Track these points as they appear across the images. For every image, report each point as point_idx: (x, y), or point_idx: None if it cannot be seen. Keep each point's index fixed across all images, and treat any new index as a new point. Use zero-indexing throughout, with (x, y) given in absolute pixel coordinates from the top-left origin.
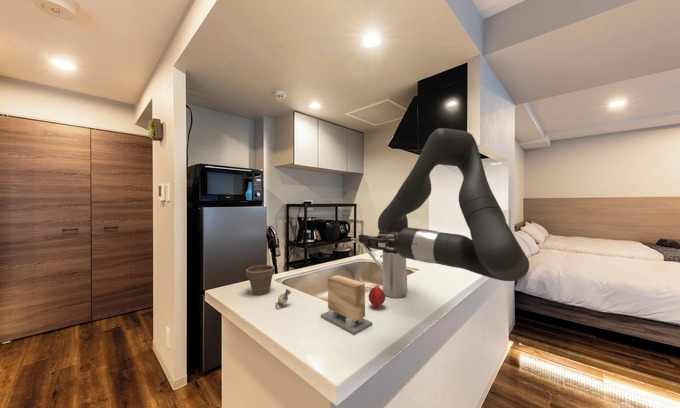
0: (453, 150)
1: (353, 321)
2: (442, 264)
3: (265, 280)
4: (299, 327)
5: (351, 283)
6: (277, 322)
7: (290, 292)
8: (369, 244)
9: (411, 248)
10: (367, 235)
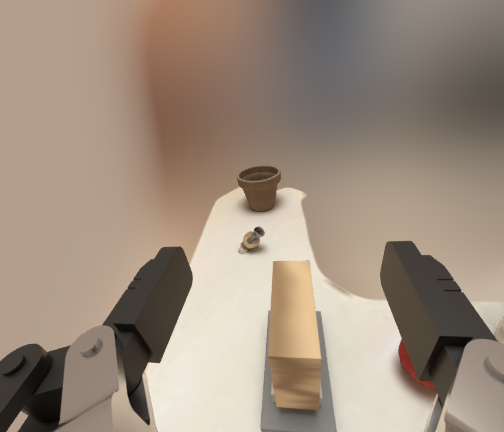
0: None
1: None
2: None
3: (257, 194)
4: (216, 316)
5: (286, 327)
6: (209, 282)
7: (259, 235)
8: (35, 419)
9: None
10: (146, 296)
